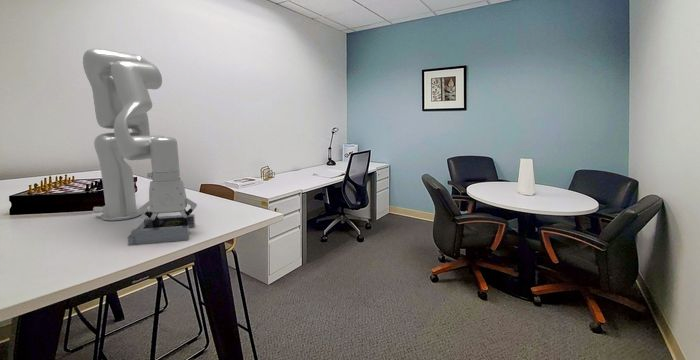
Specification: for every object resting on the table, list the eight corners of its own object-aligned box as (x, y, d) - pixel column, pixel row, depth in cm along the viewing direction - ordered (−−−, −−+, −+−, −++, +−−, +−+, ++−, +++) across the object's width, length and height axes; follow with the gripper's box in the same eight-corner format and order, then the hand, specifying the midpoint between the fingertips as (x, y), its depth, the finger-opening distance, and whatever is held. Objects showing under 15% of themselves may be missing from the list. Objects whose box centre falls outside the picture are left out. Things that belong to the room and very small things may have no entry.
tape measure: (160, 232, 107) (159, 221, 106) (183, 229, 110) (182, 218, 109) (159, 239, 101) (158, 227, 100) (184, 235, 104) (183, 224, 104)
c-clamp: (128, 245, 96) (127, 232, 95) (146, 226, 113) (145, 215, 112) (188, 240, 100) (187, 227, 100) (196, 222, 117) (195, 212, 117)
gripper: (130, 179, 96) (136, 236, 99) (194, 177, 101) (198, 231, 104) (138, 175, 103) (144, 228, 106) (198, 173, 108) (201, 224, 112)
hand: (171, 229), depth 105 cm, fingers closed on tape measure, 7 cm apart
